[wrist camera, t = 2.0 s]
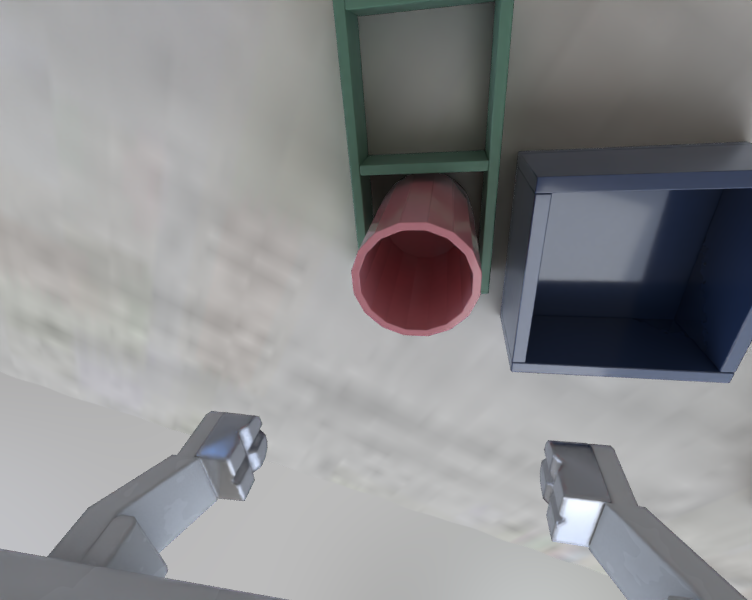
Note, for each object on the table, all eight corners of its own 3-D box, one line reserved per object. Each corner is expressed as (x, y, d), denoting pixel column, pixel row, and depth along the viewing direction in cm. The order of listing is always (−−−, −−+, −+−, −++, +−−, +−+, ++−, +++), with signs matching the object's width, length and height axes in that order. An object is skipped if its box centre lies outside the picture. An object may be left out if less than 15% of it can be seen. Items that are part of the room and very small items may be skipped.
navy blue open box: (517, 151, 24) (537, 177, 18) (747, 141, 22) (844, 167, 16) (500, 317, 30) (510, 372, 25) (676, 322, 28) (730, 383, 22)
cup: (378, 172, 26) (345, 223, 18) (474, 169, 25) (486, 221, 17) (383, 258, 29) (358, 333, 21) (469, 258, 28) (477, 338, 20)
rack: (346, 4, 21) (331, -4, 19) (508, -15, 20) (516, -26, 17) (370, 272, 30) (362, 291, 27) (485, 273, 28) (488, 294, 26)
